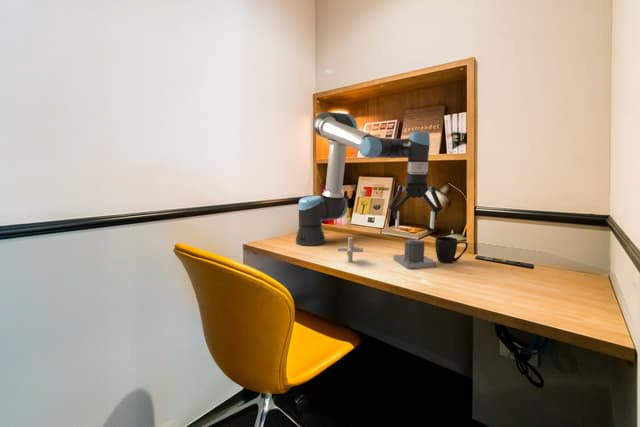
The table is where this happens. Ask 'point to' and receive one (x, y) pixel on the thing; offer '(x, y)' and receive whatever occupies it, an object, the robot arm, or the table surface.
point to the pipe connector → (350, 249)
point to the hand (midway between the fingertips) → (414, 227)
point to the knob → (414, 250)
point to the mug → (447, 249)
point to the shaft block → (414, 262)
